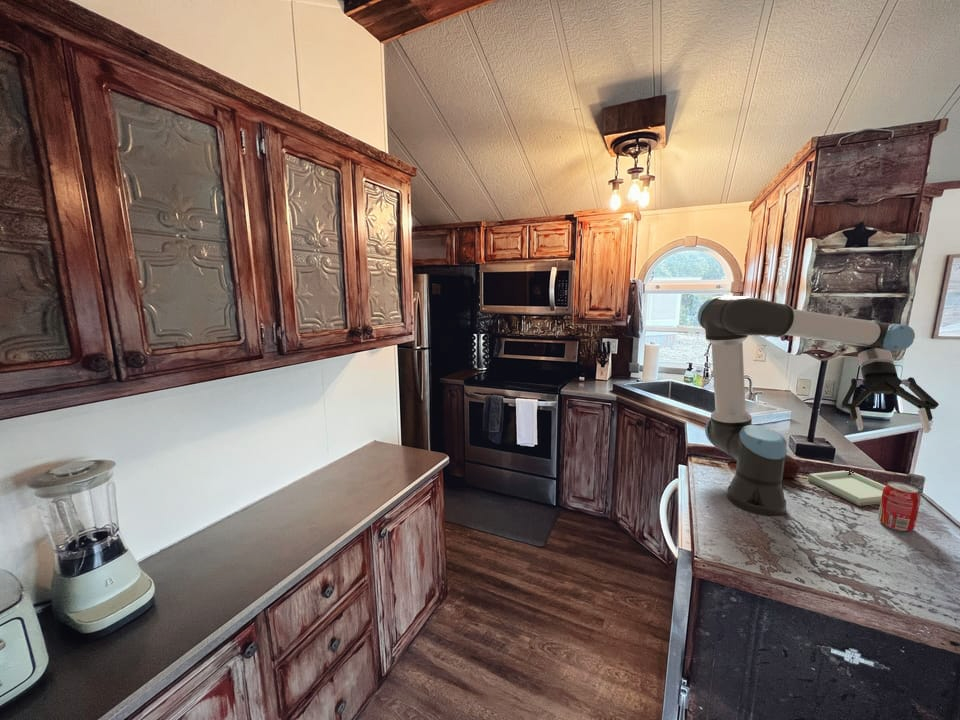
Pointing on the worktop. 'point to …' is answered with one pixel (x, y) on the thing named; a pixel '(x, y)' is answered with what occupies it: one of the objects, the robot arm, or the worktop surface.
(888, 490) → the soda can
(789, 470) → the potato
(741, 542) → the worktop surface
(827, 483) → the tray
